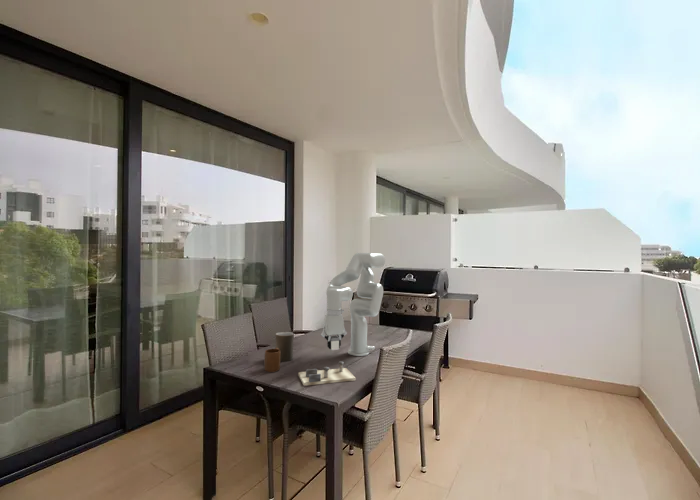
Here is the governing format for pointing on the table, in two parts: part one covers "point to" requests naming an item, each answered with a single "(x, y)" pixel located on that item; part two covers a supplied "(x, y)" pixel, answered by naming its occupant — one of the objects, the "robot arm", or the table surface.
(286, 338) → the pillar candle
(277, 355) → the mug
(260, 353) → the table surface
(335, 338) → the grey rectangular block
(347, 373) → the board
